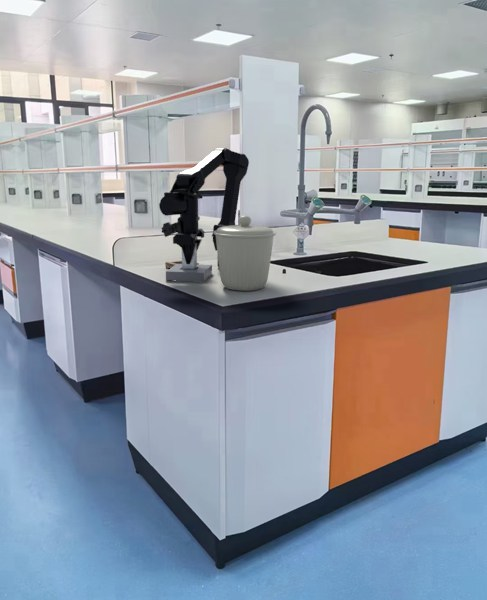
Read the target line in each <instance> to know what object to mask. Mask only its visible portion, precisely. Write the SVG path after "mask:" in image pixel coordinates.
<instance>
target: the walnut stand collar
mask: <svg viewBox="0 0 487 600" xmlns="http://www.w3.org/2000/svg"><path fill="white" fill-rule="evenodd" d="M164 264H165V266H164V267H166V269H168V268H171V267H173V266H174V265H176V264H182V259H181V260H175V261H174V260H171V261H165V263H164ZM197 264H198V265H200V262H197Z"/></svg>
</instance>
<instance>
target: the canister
mask: <svg viewBox="0 0 487 600" xmlns="http://www.w3.org/2000/svg"><path fill="white" fill-rule="evenodd" d="M251 222H252V219H251V217H250V216H248V215H241V216H240V217H239V218H238V223H239V224H235V225H229V226H223V227H220V228H218V229H217V230H216V231H214V232H213V231H212V234H213V233H214V234H215V235H216V244H217V251H216V252H217V254H216V255H217V264H218V263H219V269H218V271H219V276H220V277H219V278H220V281H221V284H222V286H223V287H225V288H226V289H228V290H233V291H239V292H240V291H241V292H242V291H243V292H249V291H257V290H261V289H263V288H265V286H266V285H267V283H268V279H269V272H270V266H271V259H272V258H271V257H272V252H273V251H272V250H273V243H274V237H275V236H277V235H276V234H277V232H276V231H273V229H272V228H271V227H267V226H264V225H255V224H251Z"/></svg>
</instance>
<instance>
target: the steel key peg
mask: <svg viewBox="0 0 487 600" xmlns="http://www.w3.org/2000/svg"><path fill="white" fill-rule="evenodd" d="M197 257H198V250H197V245H196V248H195V250H194V254H193V257H192V260H191V262H190V264H186V260H185V257H184V253H183V250H182V249H181V260H182V269H185V270H197V263H198V258H197Z"/></svg>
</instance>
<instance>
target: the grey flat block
mask: <svg viewBox="0 0 487 600" xmlns="http://www.w3.org/2000/svg"><path fill="white" fill-rule="evenodd" d="M212 275H213V265H212V264H199V265H198V264H197V270H185V269H182V264H176V265H174V266H173V267H171V268H170V269H168V268H167V270H166V271H165V281H166V280H176V281H175V282H182V281H193V282H192V283H205V282H206V281H207V280H208V279H207V278H210V277H211V276H212ZM205 280H206V281H205ZM194 281H195V282H194Z"/></svg>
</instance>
